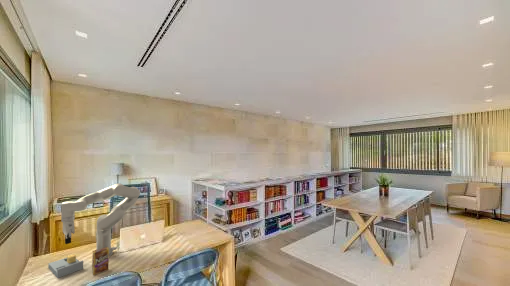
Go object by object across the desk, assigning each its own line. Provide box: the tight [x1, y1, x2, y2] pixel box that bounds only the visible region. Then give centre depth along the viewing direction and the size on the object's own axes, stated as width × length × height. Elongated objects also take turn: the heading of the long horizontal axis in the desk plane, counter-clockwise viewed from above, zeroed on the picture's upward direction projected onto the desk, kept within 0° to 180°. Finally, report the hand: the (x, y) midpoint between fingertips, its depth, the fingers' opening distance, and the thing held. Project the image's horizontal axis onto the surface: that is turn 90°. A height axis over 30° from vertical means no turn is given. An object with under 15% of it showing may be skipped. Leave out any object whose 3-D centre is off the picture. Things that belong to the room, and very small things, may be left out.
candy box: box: [91, 247, 110, 276], centre depth 154 cm, size 9×4×15 cm, turn 140°
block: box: [66, 254, 77, 263], centre depth 161 cm, size 4×4×4 cm
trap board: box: [47, 257, 84, 279], centre depth 158 cm, size 14×21×6 cm, turn 55°
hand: (68, 243), depth 165 cm, fingers closed
